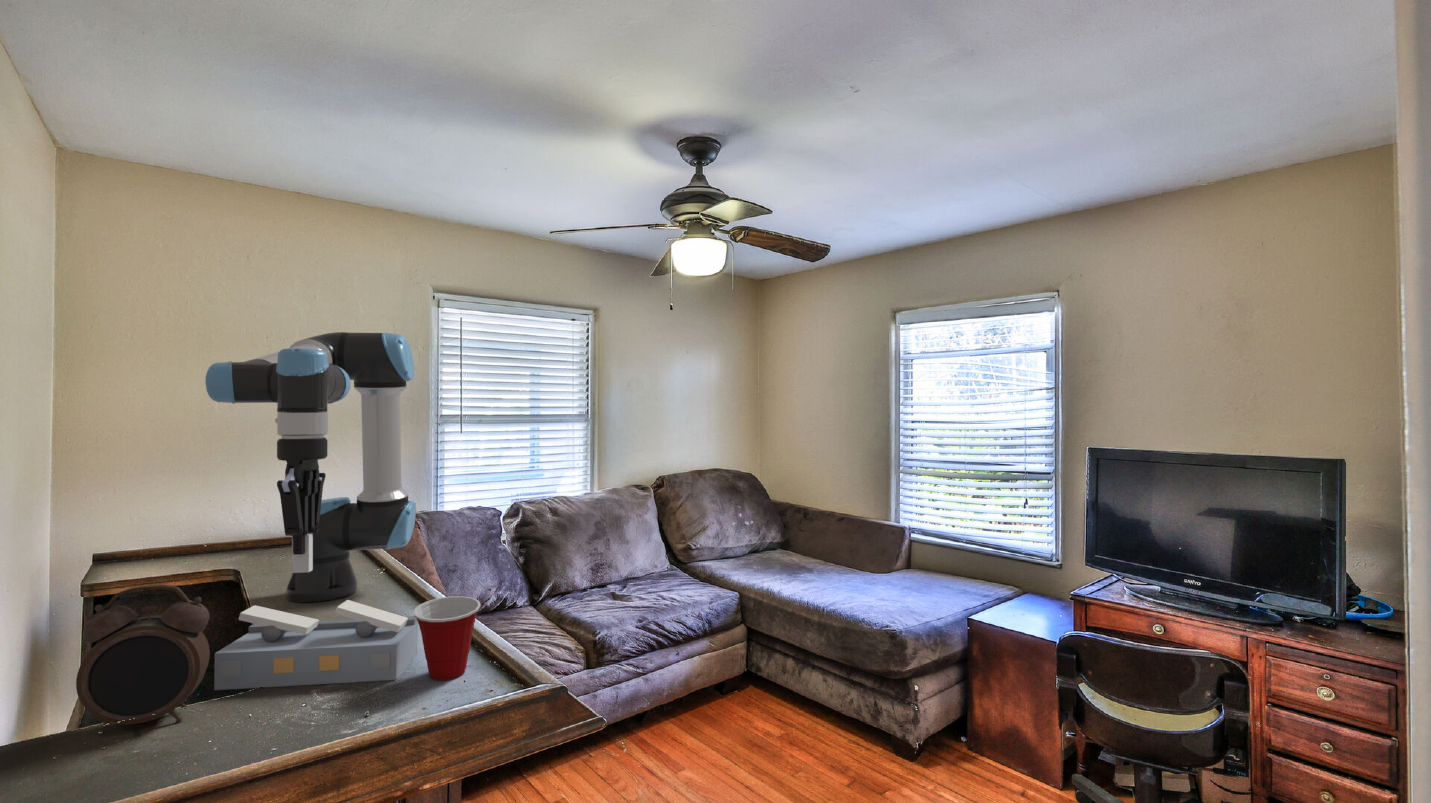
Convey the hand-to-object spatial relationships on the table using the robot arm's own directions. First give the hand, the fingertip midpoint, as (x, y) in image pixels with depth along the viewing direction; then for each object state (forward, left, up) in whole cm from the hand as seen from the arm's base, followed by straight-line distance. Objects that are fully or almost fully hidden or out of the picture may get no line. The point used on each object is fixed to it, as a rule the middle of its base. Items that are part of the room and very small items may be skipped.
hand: (302, 571), depth 115 cm
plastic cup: (+5, +26, -18) cm, 31 cm away
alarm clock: (+17, -13, -18) cm, 28 cm away
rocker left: (0, -4, -11) cm, 12 cm away
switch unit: (0, +4, -18) cm, 18 cm away
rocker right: (0, +11, -11) cm, 15 cm away
